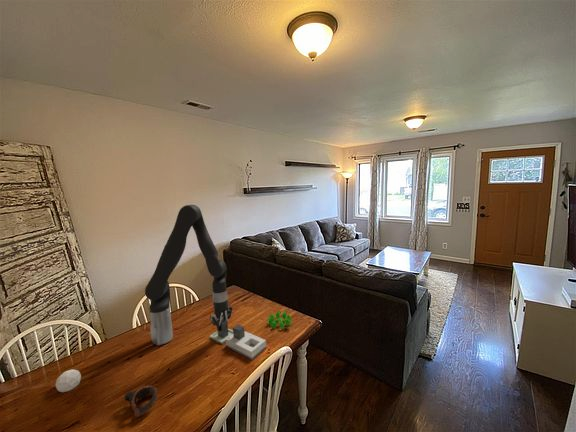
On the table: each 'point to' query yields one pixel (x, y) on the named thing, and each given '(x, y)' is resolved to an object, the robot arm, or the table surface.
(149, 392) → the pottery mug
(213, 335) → the sage tray
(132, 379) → the table surface
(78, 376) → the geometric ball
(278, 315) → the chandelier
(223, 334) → the grey rectangular prism
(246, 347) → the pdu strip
